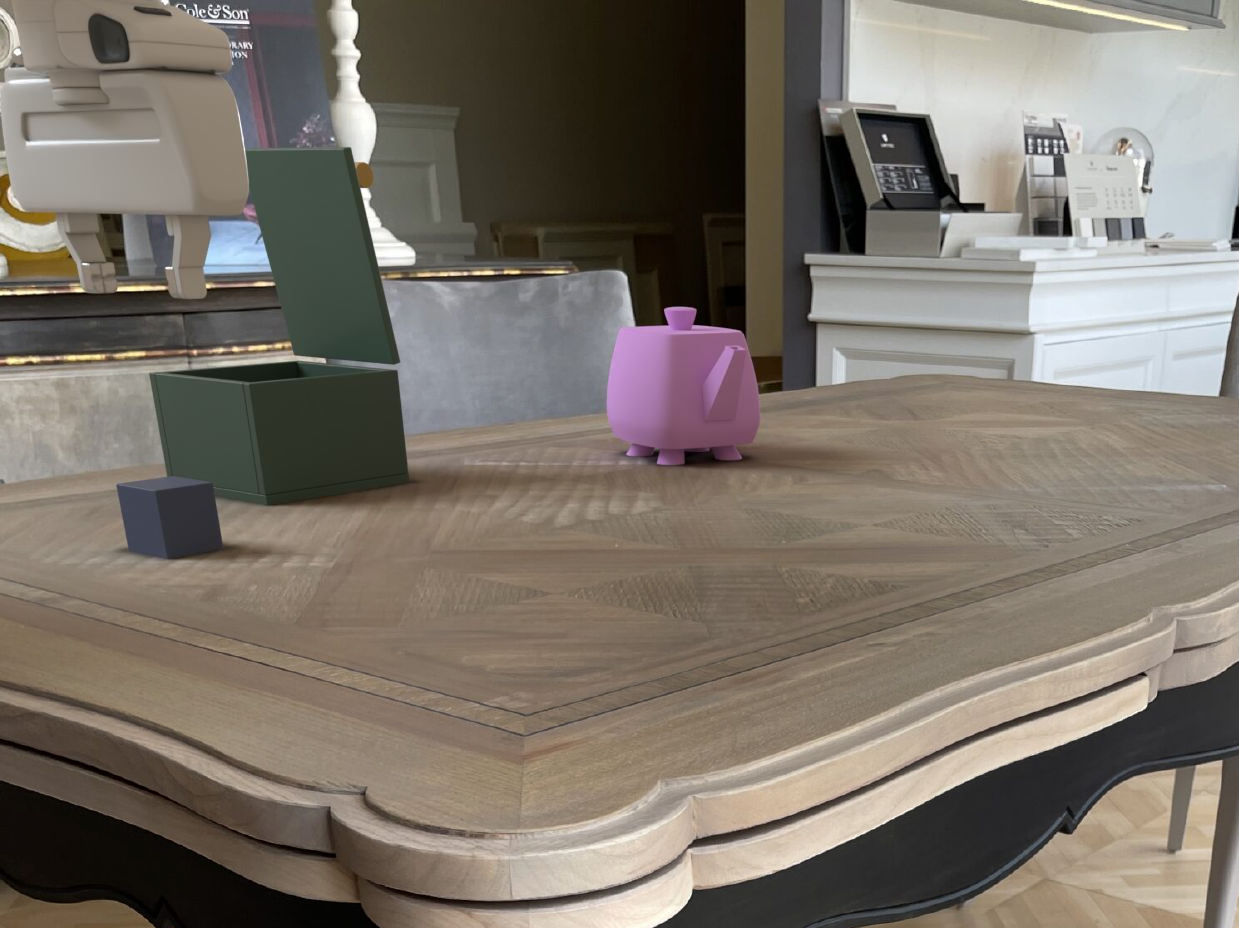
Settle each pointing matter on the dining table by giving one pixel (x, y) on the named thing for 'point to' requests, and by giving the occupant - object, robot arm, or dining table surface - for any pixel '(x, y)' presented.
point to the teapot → (682, 389)
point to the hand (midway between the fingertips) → (143, 295)
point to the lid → (322, 252)
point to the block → (170, 516)
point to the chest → (282, 429)
